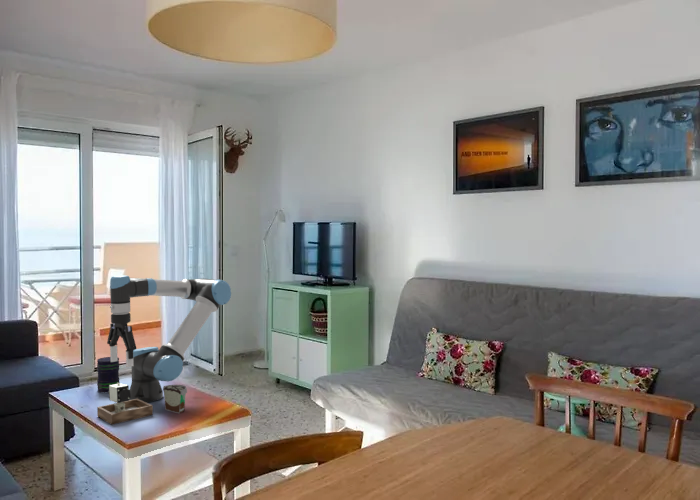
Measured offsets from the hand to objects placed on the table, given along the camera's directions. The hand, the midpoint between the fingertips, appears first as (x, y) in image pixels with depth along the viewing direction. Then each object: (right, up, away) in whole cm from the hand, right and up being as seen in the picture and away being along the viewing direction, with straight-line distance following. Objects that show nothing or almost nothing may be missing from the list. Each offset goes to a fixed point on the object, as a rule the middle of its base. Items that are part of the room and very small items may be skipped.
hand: (121, 364), depth 235 cm
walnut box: (+2, -21, -1) cm, 21 cm away
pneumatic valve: (0, -20, 0) cm, 20 cm away
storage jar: (-22, -20, +38) cm, 48 cm away
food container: (+21, -21, +7) cm, 31 cm away
